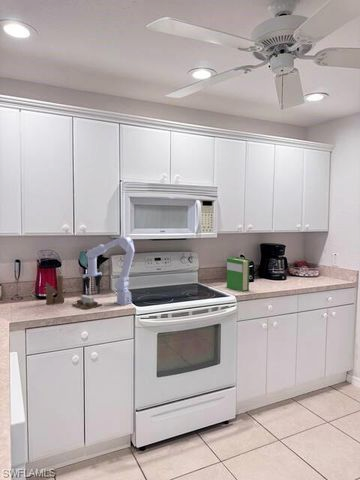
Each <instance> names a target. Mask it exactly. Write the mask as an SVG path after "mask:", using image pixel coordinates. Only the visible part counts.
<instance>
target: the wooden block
mask: <svg viewBox="0 0 360 480" xmlns="http://www.w3.org/2000/svg"><path fill="white" fill-rule="evenodd" d="M56 277H57V290H56V289H55V288H54V287H53V286H51V285H50V284H49V283H48V282H45V293H46V294H45V295H46V296H45V303H46V305H48V306H50V305H54V304H55V305H57V304H64V303H65V297H64V275H61V274H59V275H57V276H56ZM54 294H57V296H55V297H54Z"/></svg>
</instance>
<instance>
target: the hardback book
mask: <svg viewBox="0 0 360 480" xmlns="http://www.w3.org/2000/svg"><path fill="white" fill-rule="evenodd" d="M226 289H230V290H232V291H233V290H234V291H237V292H241V293H242V292H244V291H248V292H249V291H250V260H249V259H244V258H238V257H227V258H226Z"/></svg>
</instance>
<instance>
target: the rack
mask: <svg viewBox="0 0 360 480" xmlns="http://www.w3.org/2000/svg"><path fill="white" fill-rule="evenodd" d="M72 306H73V307H76V308H79V309H82V310H85V311H86V310H91V309H95V308H99V307H102V306H103V304H101V303H98V301H95V300H94V303H85V305H84V304H82V301H81V299H76V303H72Z"/></svg>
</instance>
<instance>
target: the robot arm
mask: <svg viewBox="0 0 360 480" xmlns="http://www.w3.org/2000/svg"><path fill="white" fill-rule="evenodd" d="M116 246H120V247H121V248H122V249H123V250H124V251H125V256H124V259H123V260H124V261H123V263H122V268H121V272H120V275H119V277H118V279H117V281H116V282H115V288H116V301H113V303H114V304H118V305H121V306H125V305H130V304H133V301H132V292H131V291H130V290H129V288H128V287H129V285H130V281H129V280H130V277H129V275H130V271H131V267H132V264H133V260H134V255H135V252H136V249H135V245H134V240H133V239H132V237H130V236H122V237H120V238H118V237H117V238H116V239H114V240H111V241H110V242H108V243H106V244H100V243H99V244H98V245H97V246H96V247H92V249H88V250H87V251H86V254H85V255H86V258H87V273H84V274H82V281H84V284H85V288H86V289H90V282H91V281H90V280H91V277H94V281H95V287H99V285H100V282H101V279H103V272H100V271H99V272H98V270H97V268H98V266H97V264H98V263H97V260H98V259H97V258H98V257H99V256H100V255H102V254H104V253H106V252H107V250H108V249H110V248H113V247H116Z"/></svg>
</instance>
